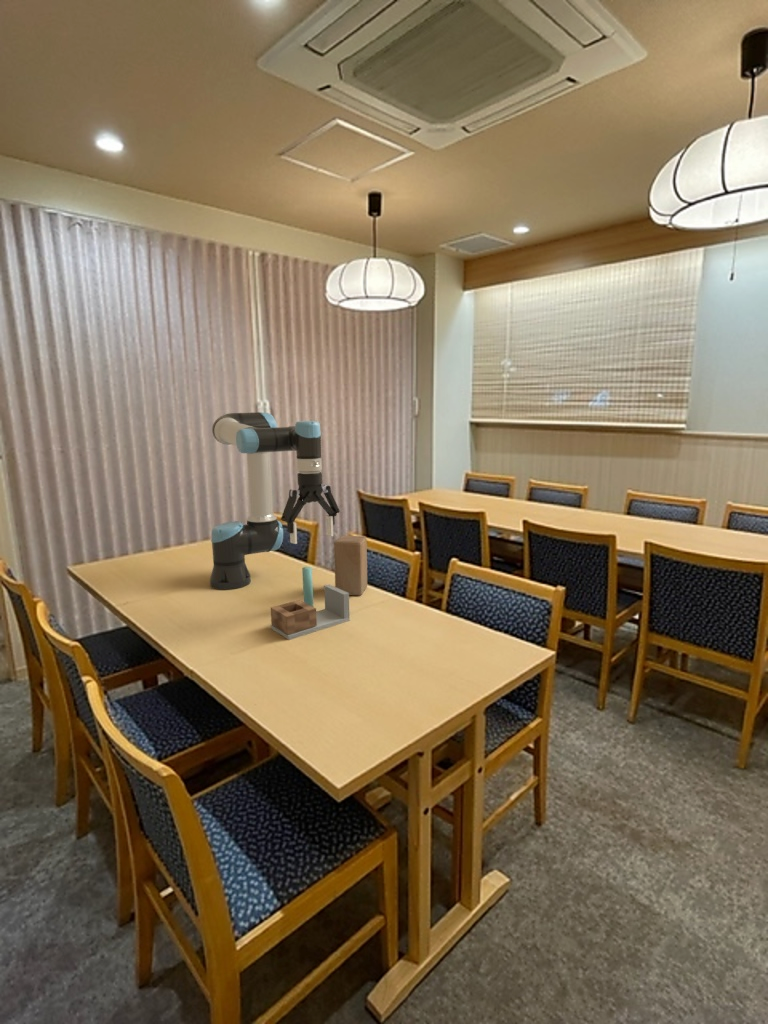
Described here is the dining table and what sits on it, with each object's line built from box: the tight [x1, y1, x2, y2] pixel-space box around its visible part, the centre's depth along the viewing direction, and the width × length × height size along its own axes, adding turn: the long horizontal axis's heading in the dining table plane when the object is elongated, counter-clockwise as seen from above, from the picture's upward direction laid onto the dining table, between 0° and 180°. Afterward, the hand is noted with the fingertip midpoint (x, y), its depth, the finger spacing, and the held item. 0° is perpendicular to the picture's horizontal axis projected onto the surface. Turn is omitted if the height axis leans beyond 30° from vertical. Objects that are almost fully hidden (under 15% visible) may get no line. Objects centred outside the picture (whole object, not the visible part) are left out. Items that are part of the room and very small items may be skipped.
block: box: [333, 534, 368, 596], centre depth 200 cm, size 10×10×20 cm
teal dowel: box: [301, 566, 314, 607], centre depth 184 cm, size 3×3×14 cm
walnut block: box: [270, 599, 317, 634], centre depth 167 cm, size 10×10×6 cm
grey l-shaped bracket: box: [270, 584, 351, 641], centre depth 171 cm, size 11×22×9 cm, turn 130°
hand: (312, 539), depth 172 cm, fingers open, 13 cm apart
